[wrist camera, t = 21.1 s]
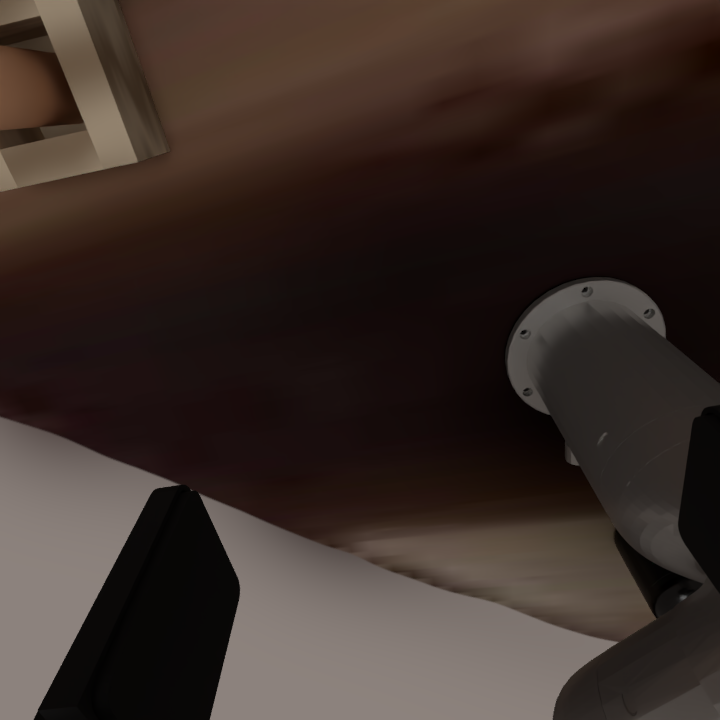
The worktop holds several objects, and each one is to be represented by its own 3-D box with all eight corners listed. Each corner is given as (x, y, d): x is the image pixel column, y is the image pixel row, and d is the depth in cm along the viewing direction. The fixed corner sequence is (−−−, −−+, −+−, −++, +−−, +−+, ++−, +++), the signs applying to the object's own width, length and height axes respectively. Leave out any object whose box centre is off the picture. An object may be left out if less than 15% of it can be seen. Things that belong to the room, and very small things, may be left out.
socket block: (171, 150, 35) (138, 161, 30) (40, 179, 36) (-15, 194, 31) (111, -24, 31) (59, -47, 25) (-38, 14, 32) (-118, -1, 26)
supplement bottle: (675, 550, 53) (752, 664, 43) (609, 556, 54) (669, 670, 43) (685, 502, 50) (771, 613, 40) (615, 509, 51) (681, 620, 40)
